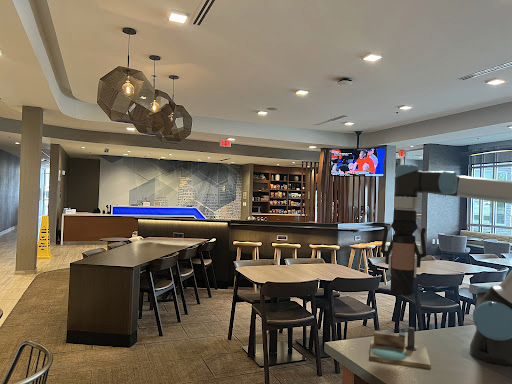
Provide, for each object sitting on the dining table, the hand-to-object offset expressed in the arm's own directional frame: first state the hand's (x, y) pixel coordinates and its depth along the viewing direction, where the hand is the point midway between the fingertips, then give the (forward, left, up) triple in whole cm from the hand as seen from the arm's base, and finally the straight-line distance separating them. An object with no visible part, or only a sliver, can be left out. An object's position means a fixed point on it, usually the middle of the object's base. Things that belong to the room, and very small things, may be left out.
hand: (402, 275), depth 137 cm
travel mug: (0, 0, -6) cm, 6 cm away
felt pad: (+4, +8, -25) cm, 26 cm away
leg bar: (+4, +1, -24) cm, 24 cm away
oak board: (+1, +5, -26) cm, 26 cm away
